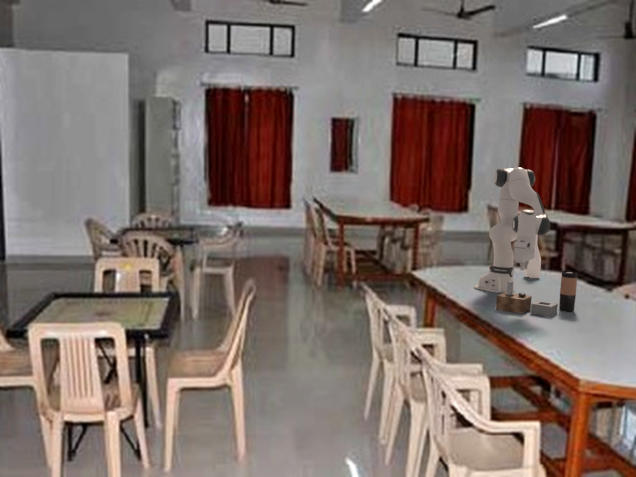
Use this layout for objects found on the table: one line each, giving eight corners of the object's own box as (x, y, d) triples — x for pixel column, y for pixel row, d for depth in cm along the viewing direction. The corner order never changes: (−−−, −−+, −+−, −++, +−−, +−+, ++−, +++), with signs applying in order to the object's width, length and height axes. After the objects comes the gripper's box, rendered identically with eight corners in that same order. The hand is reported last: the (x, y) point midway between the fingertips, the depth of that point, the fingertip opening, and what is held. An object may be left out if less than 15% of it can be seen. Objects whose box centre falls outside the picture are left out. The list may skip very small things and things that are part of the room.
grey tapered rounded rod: (504, 308, 363) (506, 281, 361) (506, 307, 365) (508, 280, 363) (510, 309, 361) (512, 282, 359) (512, 308, 364) (514, 281, 362)
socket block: (495, 309, 361) (496, 295, 360) (504, 305, 371) (505, 292, 370) (522, 313, 353) (523, 299, 352) (530, 309, 363) (531, 295, 362)
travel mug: (574, 309, 366) (577, 271, 363) (574, 312, 359) (577, 273, 356) (558, 308, 368) (561, 270, 366) (558, 311, 361) (561, 272, 358)
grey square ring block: (530, 313, 354) (531, 303, 353) (537, 309, 362) (537, 300, 361) (550, 316, 348) (551, 306, 348) (556, 313, 356) (557, 303, 356)
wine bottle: (541, 279, 450) (545, 232, 446) (526, 278, 450) (530, 231, 446) (537, 276, 459) (540, 230, 455) (522, 275, 459) (525, 229, 455)
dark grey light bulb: (516, 309, 359) (517, 293, 358) (518, 308, 362) (519, 292, 361) (523, 310, 357) (524, 294, 356) (525, 309, 360) (526, 293, 359)
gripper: (526, 239, 365) (524, 266, 367) (512, 243, 348) (510, 271, 350) (538, 241, 362) (536, 267, 363) (525, 245, 345) (523, 273, 347)
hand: (523, 269), depth 357 cm, fingers open, 3 cm apart
